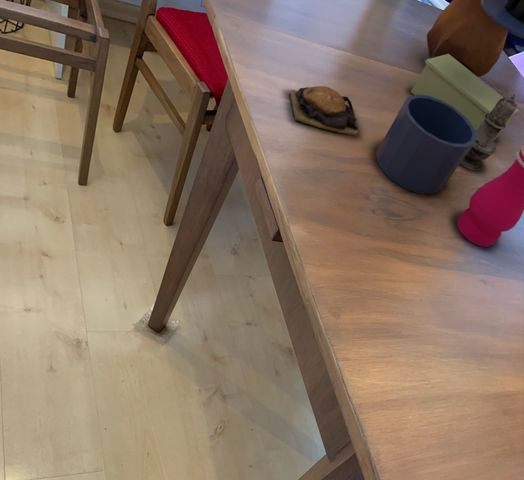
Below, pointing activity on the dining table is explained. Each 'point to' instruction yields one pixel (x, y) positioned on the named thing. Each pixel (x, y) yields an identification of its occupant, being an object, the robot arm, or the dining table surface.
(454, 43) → the butternut squash
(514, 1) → the robot arm
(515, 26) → the lid
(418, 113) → the pot
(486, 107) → the pale green block
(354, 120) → the pastry on board
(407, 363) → the dining table surface
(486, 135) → the grey knobbly column
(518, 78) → the dining table surface
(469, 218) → the pepper mill
